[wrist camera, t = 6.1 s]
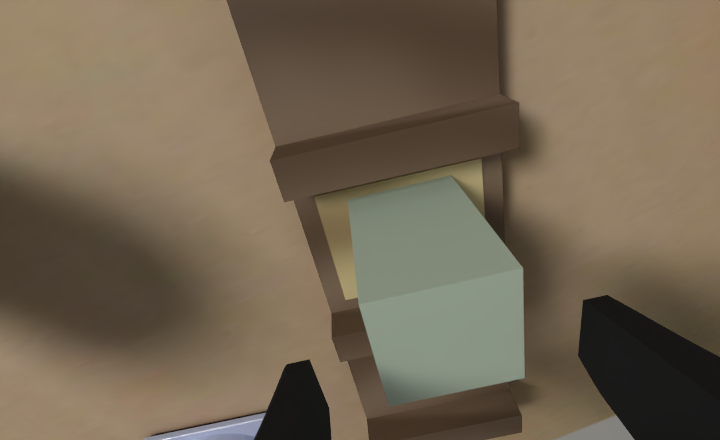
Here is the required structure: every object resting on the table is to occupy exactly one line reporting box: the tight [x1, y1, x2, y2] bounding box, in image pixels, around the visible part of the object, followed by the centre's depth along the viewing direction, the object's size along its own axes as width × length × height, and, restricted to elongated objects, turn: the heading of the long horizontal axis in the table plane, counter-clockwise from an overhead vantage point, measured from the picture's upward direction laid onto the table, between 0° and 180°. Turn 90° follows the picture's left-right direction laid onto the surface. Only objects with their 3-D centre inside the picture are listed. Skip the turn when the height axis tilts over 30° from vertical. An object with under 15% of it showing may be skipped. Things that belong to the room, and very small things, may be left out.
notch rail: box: [227, 0, 522, 440], centre depth 15 cm, size 26×8×2 cm, turn 12°
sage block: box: [348, 175, 525, 407], centre depth 13 cm, size 4×4×6 cm
